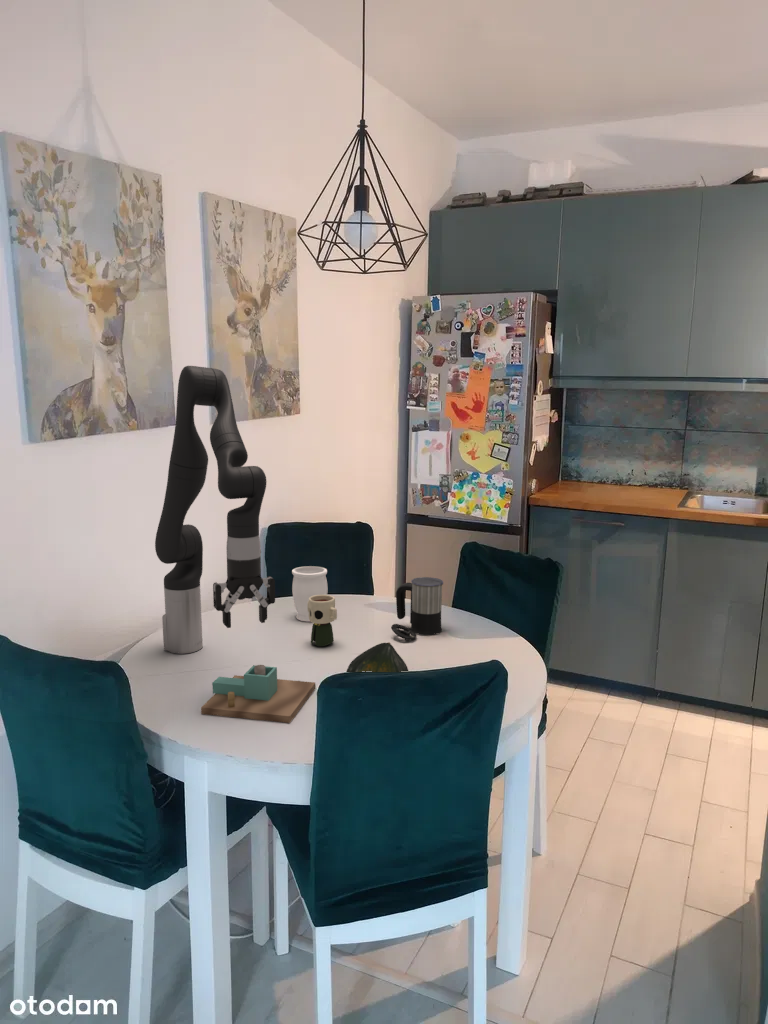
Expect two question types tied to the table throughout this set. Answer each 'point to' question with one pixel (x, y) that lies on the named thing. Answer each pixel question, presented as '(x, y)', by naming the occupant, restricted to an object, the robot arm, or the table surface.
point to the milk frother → (420, 607)
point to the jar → (307, 588)
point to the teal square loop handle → (249, 684)
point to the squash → (378, 660)
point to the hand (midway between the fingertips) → (245, 624)
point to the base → (262, 701)
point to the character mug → (322, 618)
